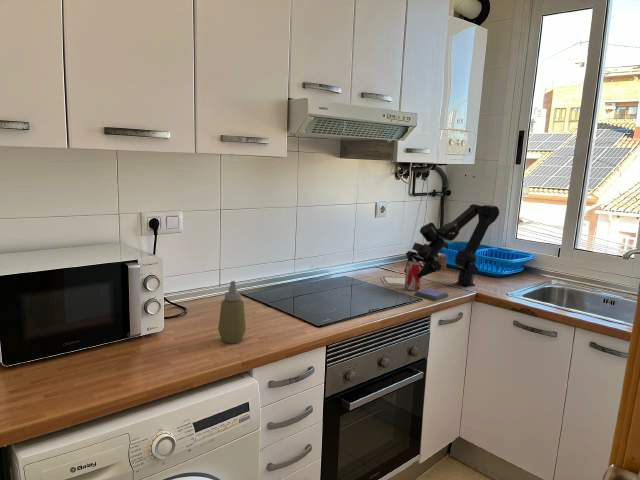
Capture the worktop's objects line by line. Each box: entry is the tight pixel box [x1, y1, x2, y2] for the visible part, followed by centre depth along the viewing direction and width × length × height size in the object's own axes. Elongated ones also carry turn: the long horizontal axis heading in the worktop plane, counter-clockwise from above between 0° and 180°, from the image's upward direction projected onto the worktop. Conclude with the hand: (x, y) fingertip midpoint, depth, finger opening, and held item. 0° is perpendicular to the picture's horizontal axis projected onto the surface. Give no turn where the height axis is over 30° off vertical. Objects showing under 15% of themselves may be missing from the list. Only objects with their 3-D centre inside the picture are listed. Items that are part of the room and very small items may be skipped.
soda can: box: [404, 261, 423, 292], centre depth 205 cm, size 7×7×12 cm
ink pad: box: [414, 287, 449, 302], centre depth 197 cm, size 10×10×2 cm
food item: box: [421, 252, 448, 271], centre depth 251 cm, size 14×8×10 cm, turn 35°
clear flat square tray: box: [380, 275, 405, 287], centre depth 218 cm, size 14×14×1 cm
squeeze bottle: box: [217, 280, 247, 344], centre depth 138 cm, size 8×8×18 cm
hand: (411, 274), depth 204 cm, fingers open, 9 cm apart
